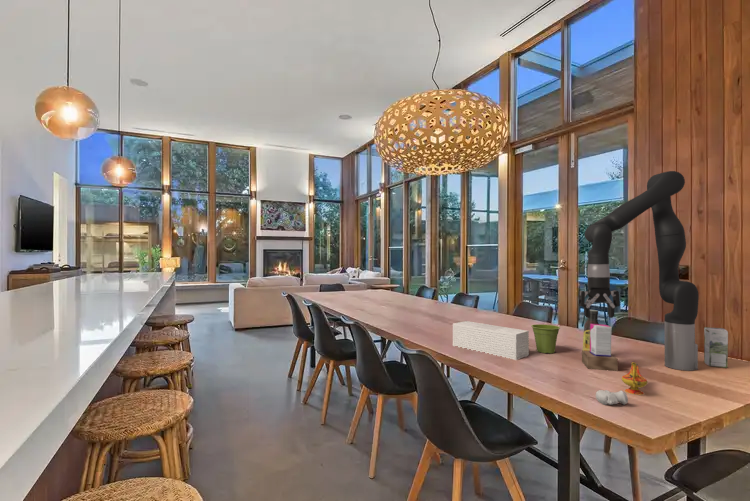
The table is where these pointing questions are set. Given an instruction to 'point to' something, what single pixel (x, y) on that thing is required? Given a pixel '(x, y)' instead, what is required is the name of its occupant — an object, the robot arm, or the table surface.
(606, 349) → the supplement box
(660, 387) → the table surface
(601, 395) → the smooth white sculpture
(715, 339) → the syrup box
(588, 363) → the block
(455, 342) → the white textured block
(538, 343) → the plant pot
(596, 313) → the sauce bottle
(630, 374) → the magic lamp
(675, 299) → the robot arm
